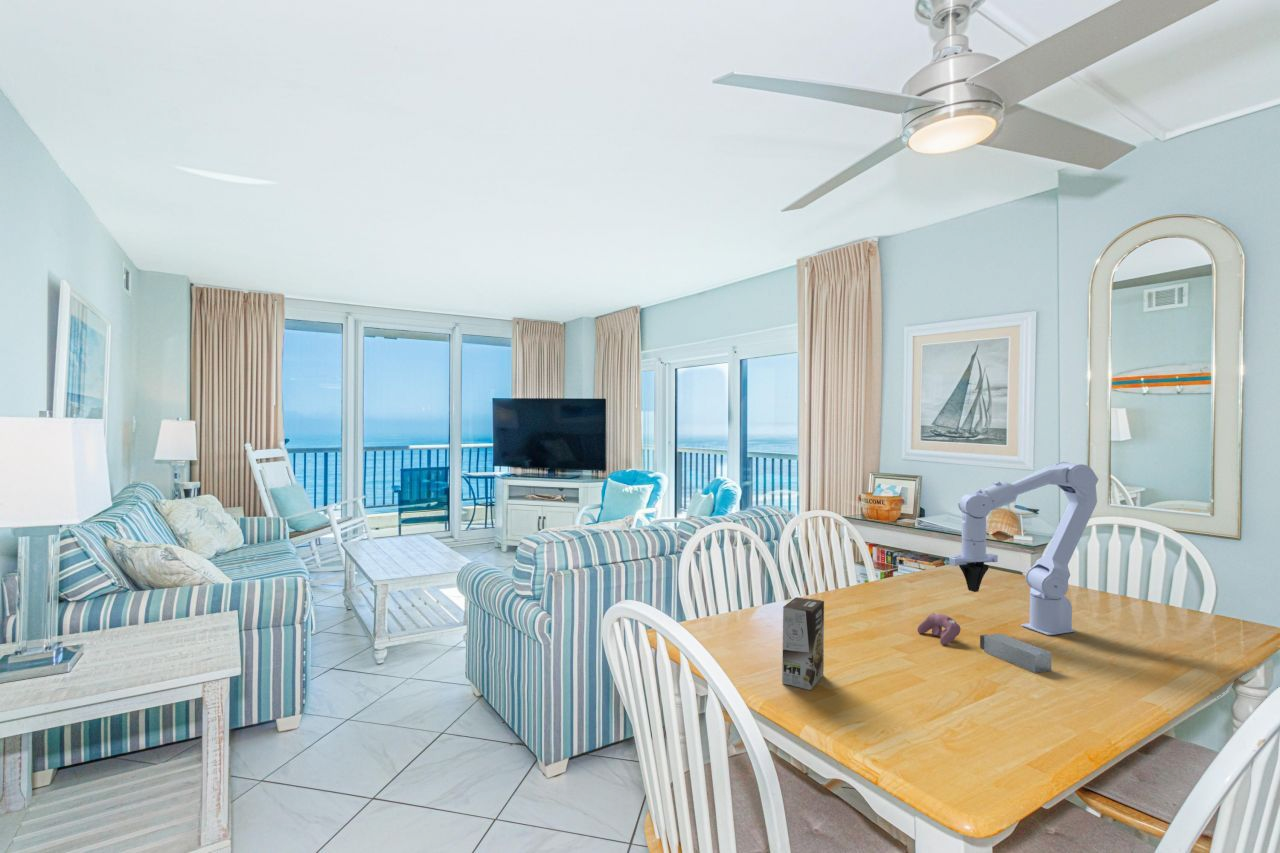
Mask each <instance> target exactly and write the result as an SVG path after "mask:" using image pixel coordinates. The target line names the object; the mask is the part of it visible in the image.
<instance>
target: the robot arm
mask: <svg viewBox="0 0 1280 853" xmlns="http://www.w3.org/2000/svg"><path fill="white" fill-rule="evenodd" d="M1098 481H1099V477H1098V476H1097V475H1096V473H1095V471H1094V470H1093V469H1092V468H1091V467H1090V466H1089V465H1087V464H1076V463H1071V462H1067V461H1060V462H1057V463H1056V464H1051V465H1047V466H1046V467H1044V468H1042V469H1040V470H1037V471H1034V472H1033V473H1031V474H1029V475H1027V476H1024V477H1022V478H1020V479H1018V480H1015V481H1013V482H1012V483H1010V482H1006V481H998V480H997V481H995V482H993V485H991V486H988V487H986V488H983V489H977V490H976V491H975V492H976V493H966V494H964V495H962V497H961V498H960V500H959V502H958V504H957V506H958V509H959V510H960V511H961V552H959V553H958V555H955V556H949V560H948V561H949V562H948V564H949V566H953V567H959V569H960V570H961V572H962V574H963V575H964V576H963V577H964V579H965V582H966V585H967V590H968V591H970V592H973V593H977V592H979V591H980V587H981V583H982V581H983V578H984V577H985V574H986V573H987V572H988V570H989V565H988V564H985V563H998V559H999V557H998V555H997V554H994V553H987V517H988V515H990V512H991V511H994V510H996V509H999V508H1002V507H1004V506H1006V505H1009V504H1012V503H1014V502H1016V500H1017V498H1018V495H1020V494H1024V493H1027V492H1030V491H1033V490H1036V489H1038V488H1041V487H1044V486H1047V485H1054V486H1057V487H1058V488H1060V489H1061V490H1062V491H1063V492H1064V494H1065V496H1066V498H1067V499H1068V501H1069V502H1068V504H1067V506H1066V509H1064V510H1065V511H1064V513H1063V515H1062V517H1061V519H1060V521H1059V523H1058V525H1057V528H1056V530H1055V532H1054V534H1053V536H1052V539H1051V540H1050V542H1049V545H1048V547H1047V548H1046V551H1045V553H1044V555H1043V556H1041V557H1039V558H1038V559H1036V561H1035V563H1034V565H1033V566H1031V567H1030V568H1028V569H1027V570H1026V573H1025V582H1026V583H1027V585H1028V586H1029V587H1030V589H1029V622H1028V623H1027V622H1026V623H1022V624H1021V625H1020V626H1021V627H1024V628H1026V629H1030V630H1031V631H1035V632H1038V633H1041V634H1043V635H1047V636H1054V635H1061V634H1062V635H1063V634H1069V633H1074V632H1076V629H1074V628H1073V606H1072V603H1071V600H1070V599H1069V598H1068V597H1067V596H1066V594H1067V593H1068V591H1069V580H1070V577H1071V572H1070V569H1069V566H1068V565H1069V563H1070V561H1071V559H1072V557H1073V554H1074V552H1075V550H1076V549H1077V547H1078V544H1079V542H1080V540H1081V537H1082V535H1083V534H1084V531H1085V530H1086V527H1087V525H1088V523H1089V521H1090V520H1091V517H1092V514H1093V512H1094V510H1095V508H1096V506H1097V503H1098V496H1097V494H1098V493H1097V484H1098Z"/></svg>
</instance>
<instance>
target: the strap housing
mask: <svg viewBox="0 0 1280 853" xmlns="http://www.w3.org/2000/svg"><path fill="white" fill-rule="evenodd" d="M983 635H984V649H983V652H984V653H986V654H988V655H991V656H992V657H996V658H998V659H1000V660H1003V661H1004V660H1005V662H1007V663H1009V662H1010V664H1011V665H1014V666H1016V665H1017V667H1019V668H1021V667H1022V668H1021V669H1023V668H1024V670H1026V669H1027V670H1026V671H1028V670H1029V672H1030V673H1033V674H1037V673H1038V672H1040V673H1045V672H1051V671H1052V652H1051V651H1048V650H1045V649H1043V648H1039V647H1037V646H1034V645H1031V644H1029V643H1027V642H1024V641H1021V640H1019V639H1016V638H1014V637H1010V636H1008V635H1005V634H1003V633H1000V632H999V633H993V634H992V633H991V634H987V635H985V634H983ZM1038 674H1039V673H1038Z"/></svg>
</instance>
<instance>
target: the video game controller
mask: <svg viewBox="0 0 1280 853" xmlns="http://www.w3.org/2000/svg"><path fill="white" fill-rule="evenodd" d="M943 628H944V629H943ZM916 630H917V633H918V634H925V633H927V632H929V631H930V630H931V634H932V635H933V636H936V637H940V639H939V642H940V644H941V645H942V646H947V645H949V644H951V643H952V642H954V641H955V639H956V637H958V636H959V634H960V633H961V625H960V624H959V623H957V621H956V620H955V619H953V618H952V617H951V616H949V615H946V614H943V613H935V612H932V613H931V614H929V615H928V616H927V617H926V618H925V619H924V620H923V621H922V622H921V623H920V624H919V625H918V627H917V629H916Z"/></svg>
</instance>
